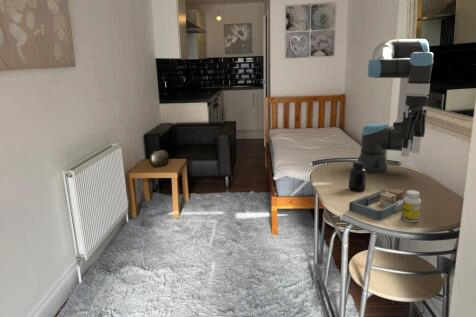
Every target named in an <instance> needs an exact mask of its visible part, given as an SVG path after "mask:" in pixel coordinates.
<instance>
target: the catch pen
mask: <svg viewBox="0 0 476 317" xmlns="http://www.w3.org/2000/svg"><path fill="white" fill-rule="evenodd" d="M367 198H369V195H365V196H363V197H362V196H361V197H359V198H356V199H355V200H352V201H350V202H349V206H348V210H349V212H354V213H356V214H359V215H362V216H365V217H368V218H372V219H374V220H377V221H382V220H383V219H386V218H387V217H389V216H391V215H393V208H394V207H395V206H397V204H391V205H389V206H384V207H383V208H381V209H376V208H373V207H369V206H367V205H366V199H367Z"/></svg>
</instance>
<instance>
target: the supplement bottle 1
mask: <svg viewBox="0 0 476 317" xmlns="http://www.w3.org/2000/svg"><path fill="white" fill-rule="evenodd" d="M364 167H365V162H362V161H358V160H354V161H353V162H352V167H350V169H349V174H348V175H349V176H348V189H349V191H352V192H356V193H361V192H362V193H363V192H365V191H366V186H367V185H366V184H367V176H368V175H367V174H368V172H367V170H366V169H365V168H364Z"/></svg>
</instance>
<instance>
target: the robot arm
mask: <svg viewBox="0 0 476 317" xmlns="http://www.w3.org/2000/svg"><path fill="white" fill-rule="evenodd" d="M429 46H430V44H429V42H428V40H427V39H425V38H407V39H405V38H404V39H402V38H401V39H389V40H386V41H383V42H382V43H379V44H378V45H376V47H375V48H374V49H373V52H372V58H370V59H369V60H368V65H367V77H368V78H369V79H370V78H371V79H399V81H400V82H399V89H398V90H399V91H398V103H397V114H396V120H395V121H393V123H392V126H390V125H389V123H388V122H372V123H367V124H364V126H363V127H362V132H361V143H360V144H361V145H360V153H359V156H358V158H357V161H362V162H365V167H364V168H365V169H366V170H367V174H369V173H371V174H382V173H383V174H385V173H387V172H388V169H389V165H388V161H387V156H386V153H387V152H386V151H396V152H397V151H398V152H401V154H400V155H401V156H402V157H406V158H409V157H410V153H413V154H420V149H421V142H422V138H425V133H426V119H427V118H426V116H427V111H428V110H427V109H424V107H427V106H428V102H429V96H428V95H429V94H430V88H431V77H432V69H433V64H434V53H433V52H430V47H429Z"/></svg>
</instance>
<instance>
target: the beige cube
mask: <svg viewBox="0 0 476 317" xmlns="http://www.w3.org/2000/svg"><path fill="white" fill-rule="evenodd" d="M395 202H396V195H395V194H391V193H389V191H388V192H385V193H383V194H381V196H380V201H379V205H380V206H381V205H382V206H384V207H387V206H389V205H391V204H393V203H395Z"/></svg>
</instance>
